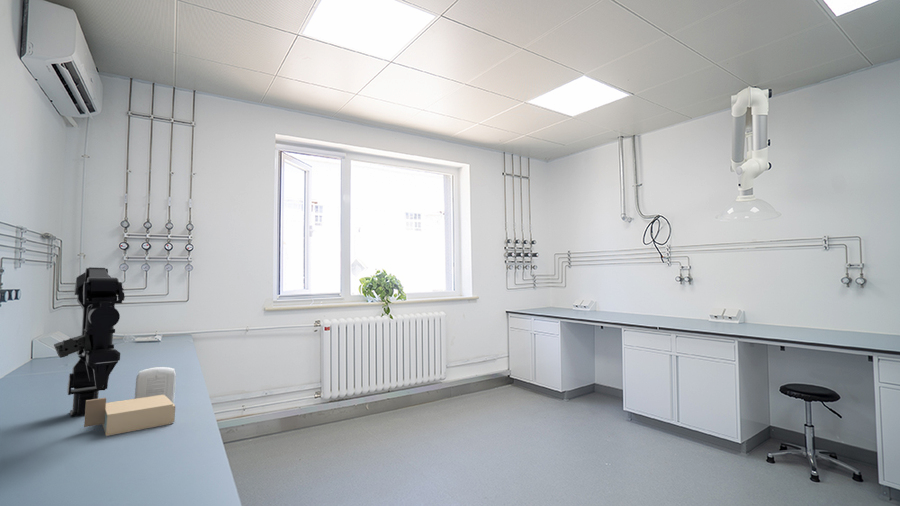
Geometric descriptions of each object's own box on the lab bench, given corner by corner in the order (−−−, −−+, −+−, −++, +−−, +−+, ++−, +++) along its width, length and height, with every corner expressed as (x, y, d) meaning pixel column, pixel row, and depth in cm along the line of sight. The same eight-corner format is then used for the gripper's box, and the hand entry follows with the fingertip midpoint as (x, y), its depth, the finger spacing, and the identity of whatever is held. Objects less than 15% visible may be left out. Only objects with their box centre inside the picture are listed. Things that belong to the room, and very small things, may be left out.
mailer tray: (83, 424, 112) (84, 396, 112) (163, 410, 124) (164, 385, 125) (85, 435, 103) (87, 405, 104) (171, 420, 115) (172, 393, 116)
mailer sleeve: (101, 422, 115) (103, 403, 116) (164, 411, 125) (165, 394, 126) (106, 435, 105) (107, 414, 106) (174, 423, 115) (175, 403, 116)
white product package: (174, 403, 134) (176, 364, 135) (174, 407, 130) (176, 366, 131) (134, 408, 128) (136, 367, 129) (133, 412, 125) (135, 370, 126)
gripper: (53, 324, 110) (48, 384, 109) (63, 331, 98) (58, 398, 97) (107, 321, 119) (103, 377, 118) (122, 327, 106) (118, 390, 105)
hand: (95, 385), depth 109 cm, fingers open, 9 cm apart
